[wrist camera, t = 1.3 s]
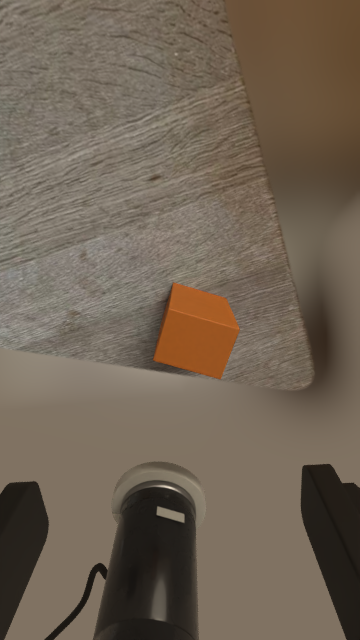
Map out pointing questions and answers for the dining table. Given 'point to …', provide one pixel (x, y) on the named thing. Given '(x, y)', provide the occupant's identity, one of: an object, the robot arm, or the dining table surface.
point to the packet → (196, 332)
